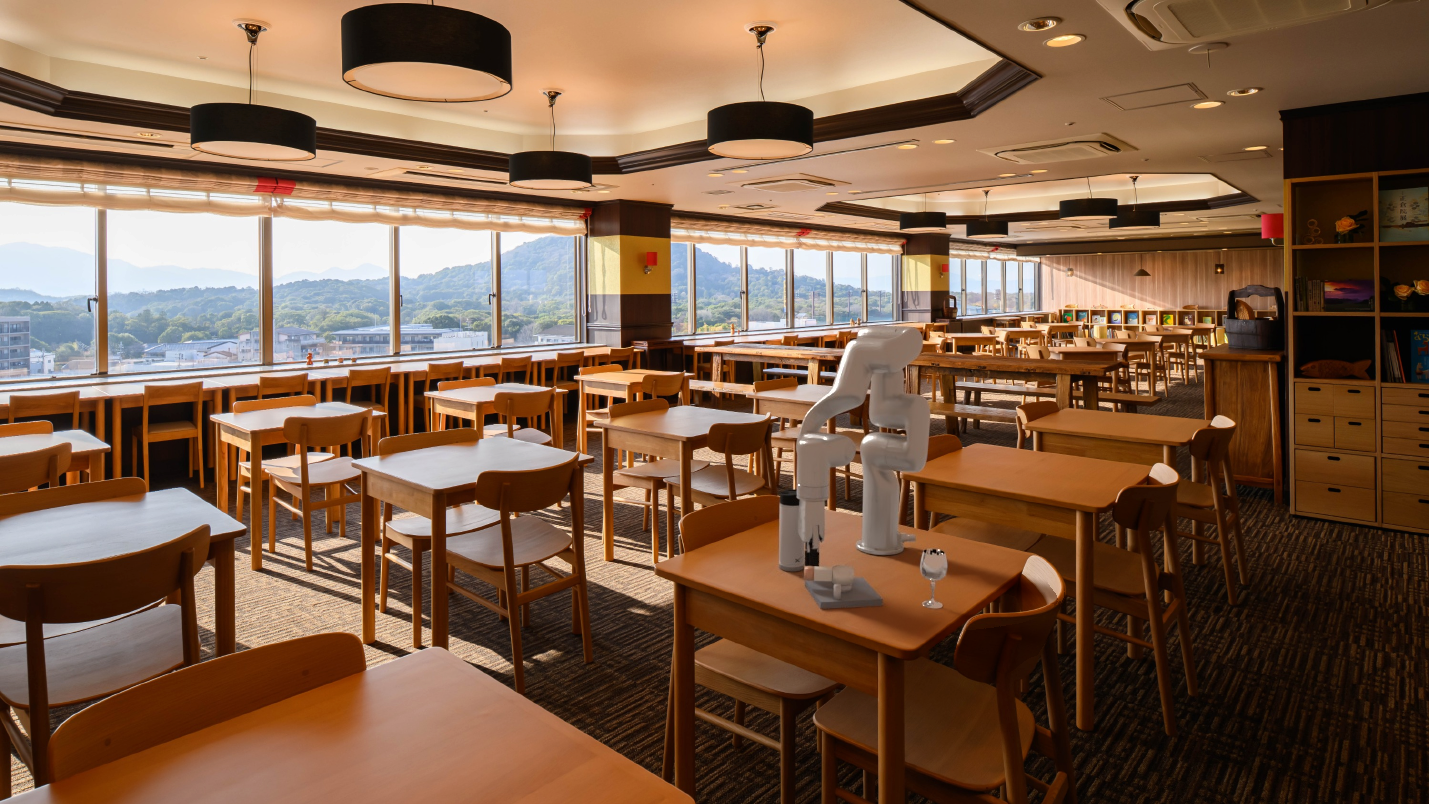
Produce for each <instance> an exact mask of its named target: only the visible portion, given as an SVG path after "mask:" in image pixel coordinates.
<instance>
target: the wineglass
mask: <svg viewBox="0 0 1429 804" xmlns="http://www.w3.org/2000/svg"><path fill="white" fill-rule="evenodd" d="M947 560H948V559H947V554H946V551H944V550H943V549H938V548H925V549H923V551H922V554H921V557H920V564H919V570H920V573H921V576H922V577H924V578H925V580H926V579H927V580H929V581H931V582H930V589H931V598H930V599H928V600H925V601H922V602H921V605H922V606H923V607H925V608H927V609H933V610H934V609H935V610H937V609H941V608H943V605H944V604H943V603H941V602H939V601H937V600H935V597H934V596H935V593H934V592H935V588H936V582H937V581H941V580H943V579H944V578H945V577H946V575H947V574H948V561H947Z"/></svg>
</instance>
